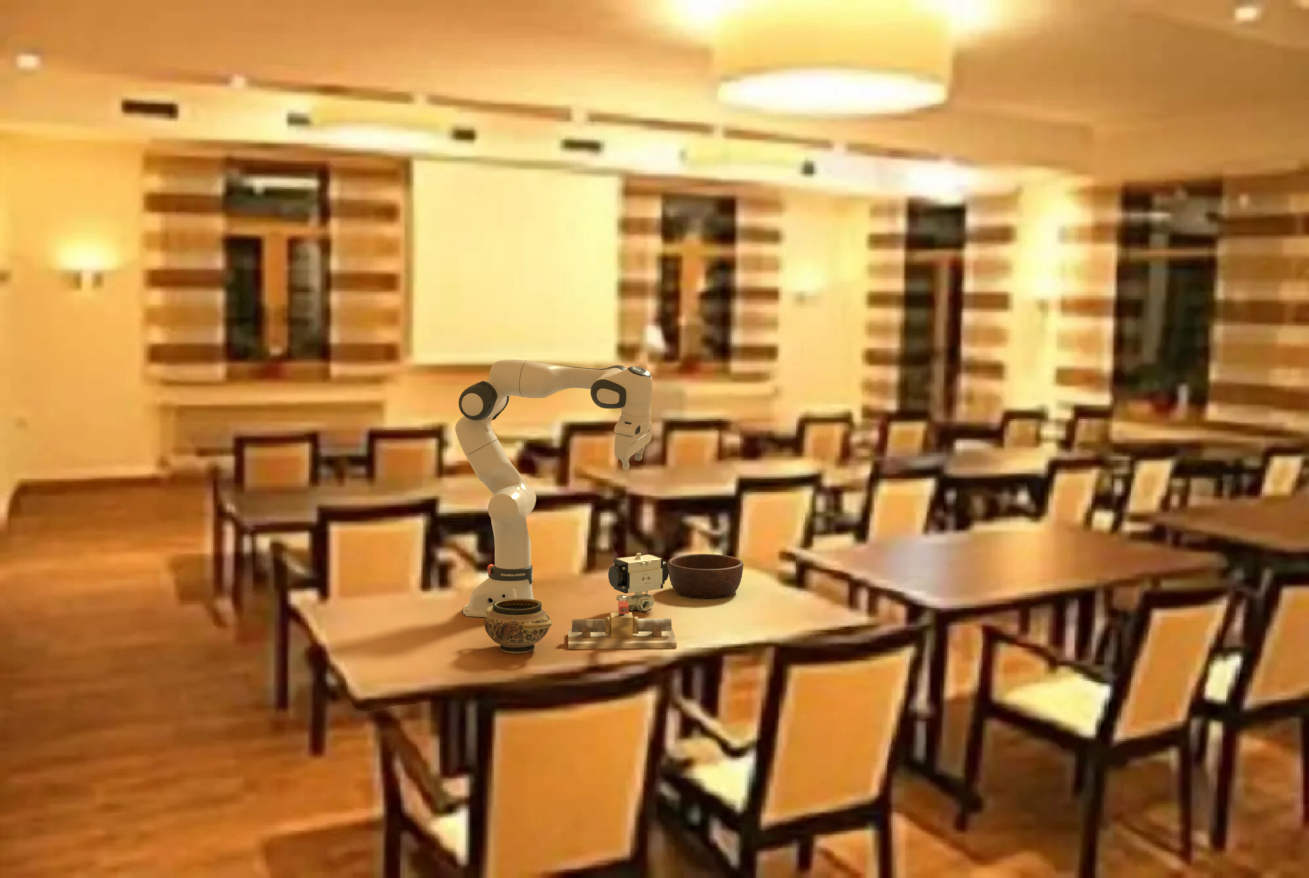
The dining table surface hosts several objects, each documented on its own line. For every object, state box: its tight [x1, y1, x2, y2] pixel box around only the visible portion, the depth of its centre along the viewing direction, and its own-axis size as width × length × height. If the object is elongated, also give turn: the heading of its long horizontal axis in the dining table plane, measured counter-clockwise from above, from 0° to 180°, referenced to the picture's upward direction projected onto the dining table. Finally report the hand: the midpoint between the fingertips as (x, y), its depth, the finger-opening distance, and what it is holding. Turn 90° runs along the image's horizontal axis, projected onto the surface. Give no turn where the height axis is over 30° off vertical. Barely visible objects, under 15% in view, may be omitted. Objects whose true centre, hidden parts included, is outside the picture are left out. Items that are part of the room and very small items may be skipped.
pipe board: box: [567, 611, 678, 650], centre depth 356 cm, size 30×15×12 cm, turn 94°
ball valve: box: [607, 552, 669, 612], centre depth 391 cm, size 18×8×18 cm, turn 121°
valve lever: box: [615, 594, 630, 614], centre depth 349 cm, size 15×3×2 cm, turn 4°
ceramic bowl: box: [483, 599, 553, 654], centre depth 347 cm, size 24×18×15 cm
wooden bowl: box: [667, 553, 744, 599], centre depth 416 cm, size 25×25×10 cm
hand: (632, 464), depth 378 cm, fingers open, 8 cm apart
